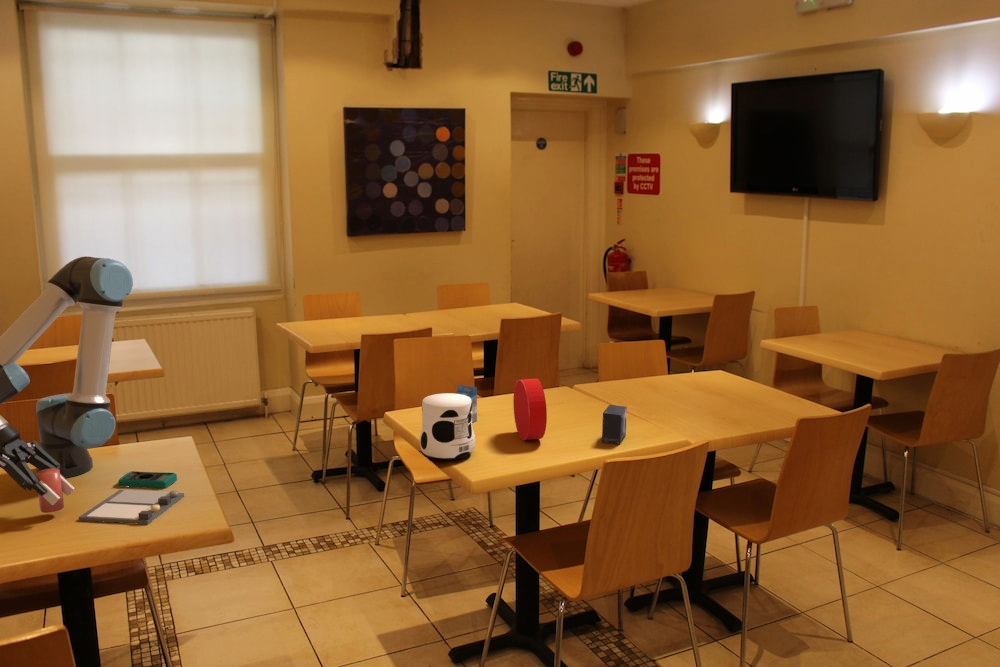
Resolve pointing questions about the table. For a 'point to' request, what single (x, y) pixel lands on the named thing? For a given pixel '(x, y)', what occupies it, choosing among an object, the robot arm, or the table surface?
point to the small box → (614, 424)
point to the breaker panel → (132, 506)
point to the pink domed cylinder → (54, 482)
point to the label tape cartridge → (472, 395)
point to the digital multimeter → (147, 479)
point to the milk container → (447, 426)
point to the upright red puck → (530, 409)
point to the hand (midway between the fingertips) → (63, 496)
